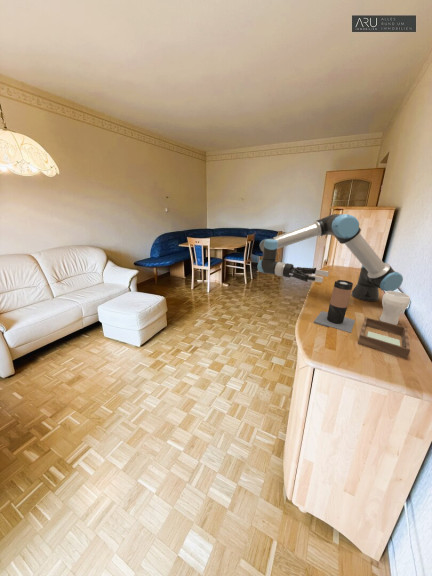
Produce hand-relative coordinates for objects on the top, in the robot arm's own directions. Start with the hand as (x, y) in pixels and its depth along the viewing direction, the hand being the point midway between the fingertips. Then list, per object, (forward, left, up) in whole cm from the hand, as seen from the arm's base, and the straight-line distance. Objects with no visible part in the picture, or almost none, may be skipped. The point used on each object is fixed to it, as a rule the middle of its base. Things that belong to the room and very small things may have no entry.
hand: (325, 276), depth 114 cm
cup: (-29, +19, -21) cm, 40 cm away
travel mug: (0, +10, -20) cm, 22 cm away
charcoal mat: (0, +10, -20) cm, 23 cm away
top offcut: (-1, +32, -19) cm, 37 cm away
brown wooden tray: (-6, +30, -20) cm, 36 cm away
